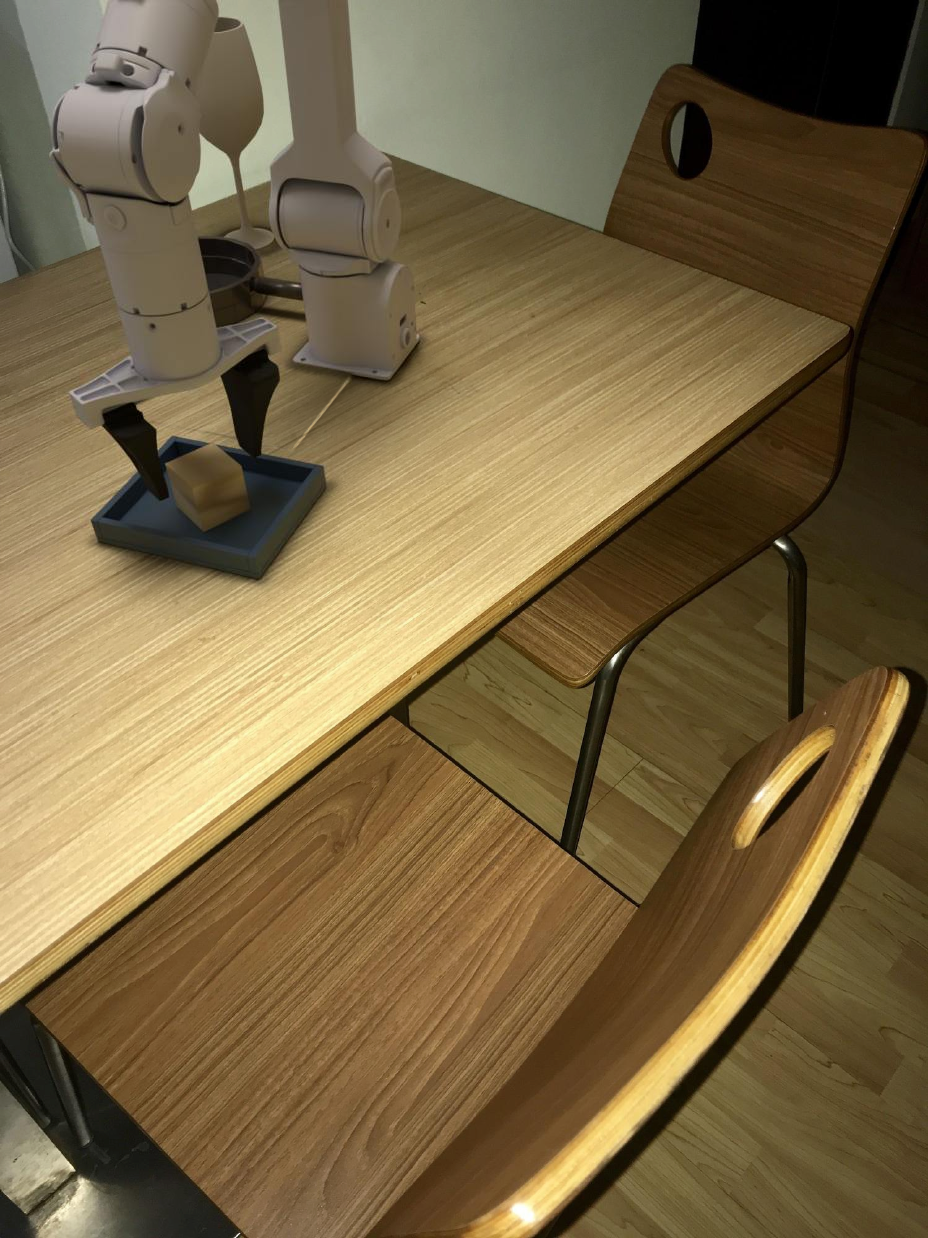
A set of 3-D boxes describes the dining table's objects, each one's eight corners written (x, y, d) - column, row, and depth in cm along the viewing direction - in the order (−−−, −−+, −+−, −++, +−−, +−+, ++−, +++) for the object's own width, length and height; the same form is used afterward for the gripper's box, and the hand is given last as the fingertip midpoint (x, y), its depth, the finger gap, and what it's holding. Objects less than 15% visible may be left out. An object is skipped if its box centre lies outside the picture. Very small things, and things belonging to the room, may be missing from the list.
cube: (223, 485, 76) (213, 441, 73) (250, 509, 74) (241, 465, 71) (176, 507, 74) (164, 463, 71) (204, 532, 72) (192, 488, 69)
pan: (289, 283, 101) (284, 245, 98) (226, 346, 92) (218, 305, 89) (176, 266, 104) (168, 228, 101) (105, 325, 95) (93, 285, 93)
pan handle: (333, 299, 94) (331, 283, 93) (326, 307, 93) (324, 291, 92) (257, 288, 96) (255, 272, 95) (250, 295, 95) (247, 279, 94)
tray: (326, 486, 77) (323, 465, 75) (259, 579, 69) (254, 557, 68) (177, 455, 80) (172, 434, 78) (97, 541, 72) (89, 519, 71)
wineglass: (298, 237, 109) (269, 20, 94) (252, 264, 104) (214, 40, 90) (245, 222, 112) (209, 9, 97) (198, 248, 107) (153, 28, 93)
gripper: (228, 240, 68) (260, 411, 77) (25, 309, 61) (87, 486, 71) (286, 275, 64) (312, 450, 73) (76, 352, 57) (134, 534, 67)
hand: (205, 471), depth 72 cm, fingers open, 7 cm apart
